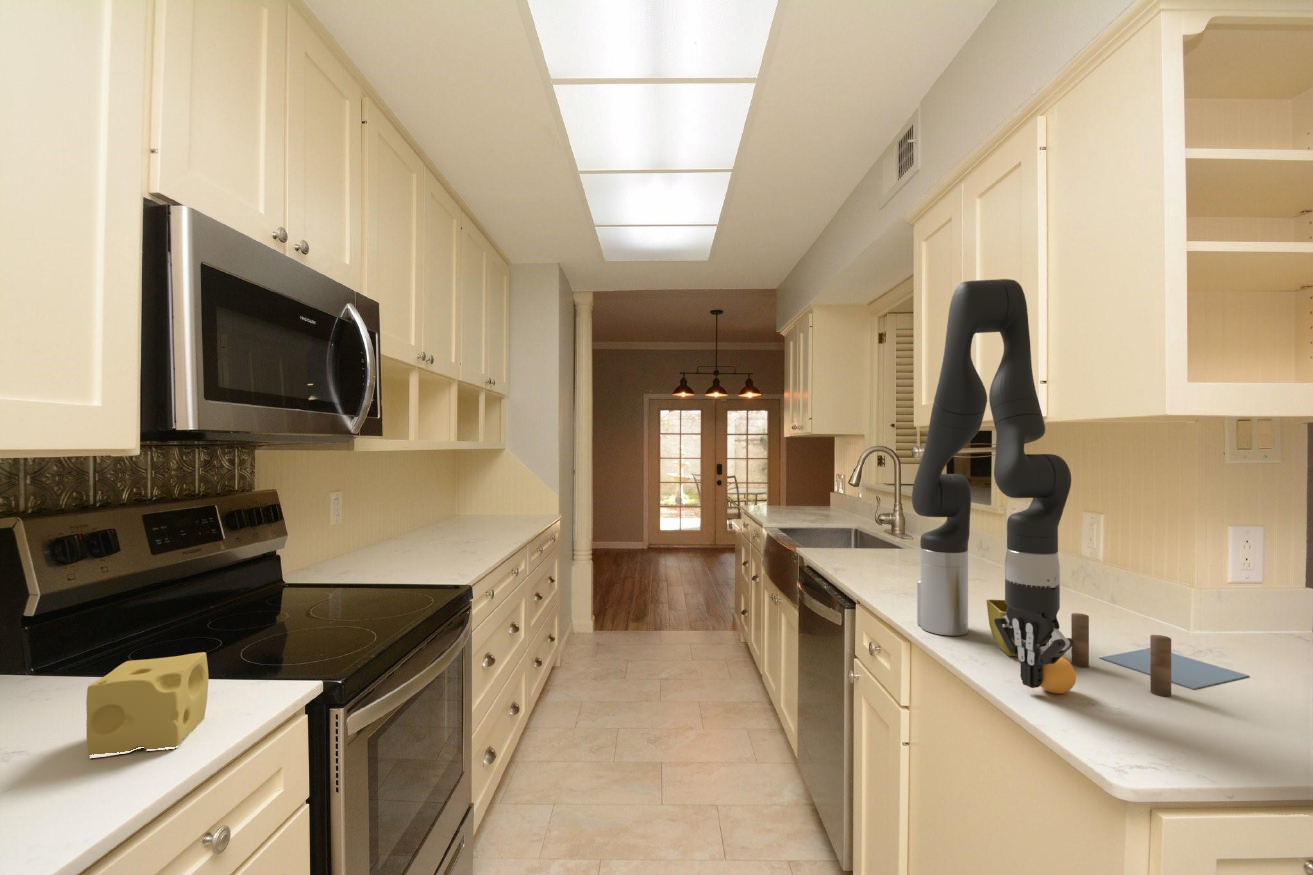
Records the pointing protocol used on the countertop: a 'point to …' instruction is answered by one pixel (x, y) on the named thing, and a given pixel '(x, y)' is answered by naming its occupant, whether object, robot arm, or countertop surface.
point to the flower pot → (994, 611)
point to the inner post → (1080, 640)
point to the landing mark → (1178, 669)
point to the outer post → (1160, 665)
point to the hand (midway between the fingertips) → (1031, 685)
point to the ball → (1058, 676)
